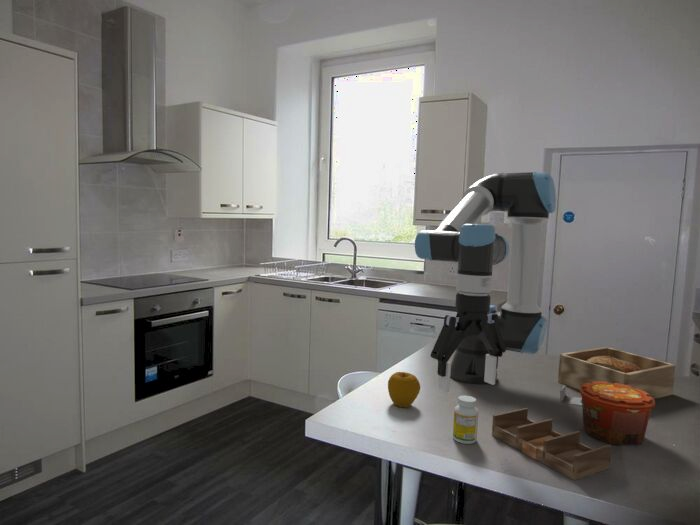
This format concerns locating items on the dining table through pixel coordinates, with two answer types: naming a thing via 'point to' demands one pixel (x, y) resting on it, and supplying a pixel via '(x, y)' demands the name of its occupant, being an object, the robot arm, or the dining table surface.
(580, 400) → the bracket
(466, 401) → the supplement bottle
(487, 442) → the dining table surface
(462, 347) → the robot arm
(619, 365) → the bread
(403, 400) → the apple
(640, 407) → the food container
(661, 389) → the bread crate
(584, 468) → the rack
